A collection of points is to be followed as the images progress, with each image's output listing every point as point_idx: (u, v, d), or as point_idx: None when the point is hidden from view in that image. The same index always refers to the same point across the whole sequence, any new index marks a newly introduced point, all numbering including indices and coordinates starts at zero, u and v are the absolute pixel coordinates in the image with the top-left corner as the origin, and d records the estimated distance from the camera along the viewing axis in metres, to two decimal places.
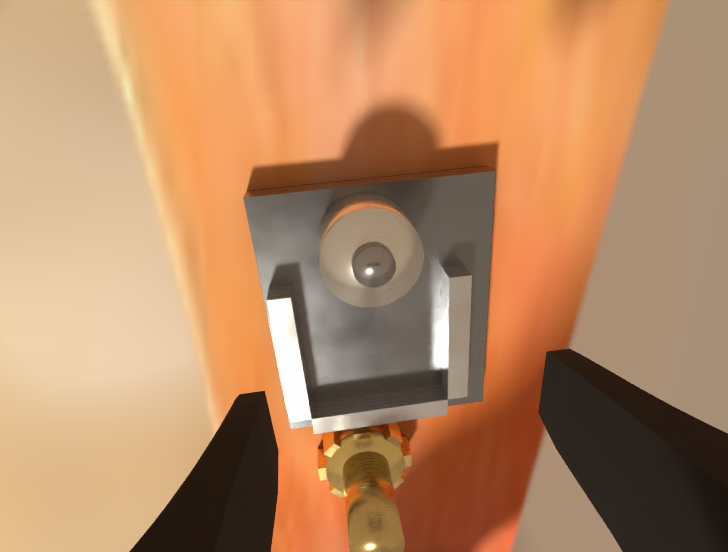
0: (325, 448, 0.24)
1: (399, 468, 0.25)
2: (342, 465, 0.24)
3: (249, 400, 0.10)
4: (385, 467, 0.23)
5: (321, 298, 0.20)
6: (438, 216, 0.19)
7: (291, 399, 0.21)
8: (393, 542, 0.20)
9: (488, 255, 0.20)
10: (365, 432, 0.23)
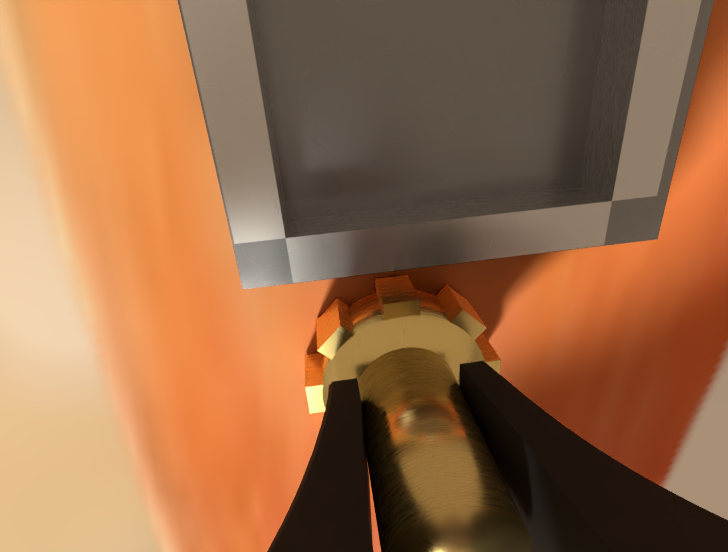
0: (320, 340, 0.11)
1: None
2: None
3: (345, 386, 0.10)
4: (452, 377, 0.11)
5: None
6: None
7: (231, 171, 0.08)
8: (501, 543, 0.08)
9: None
10: (408, 301, 0.11)
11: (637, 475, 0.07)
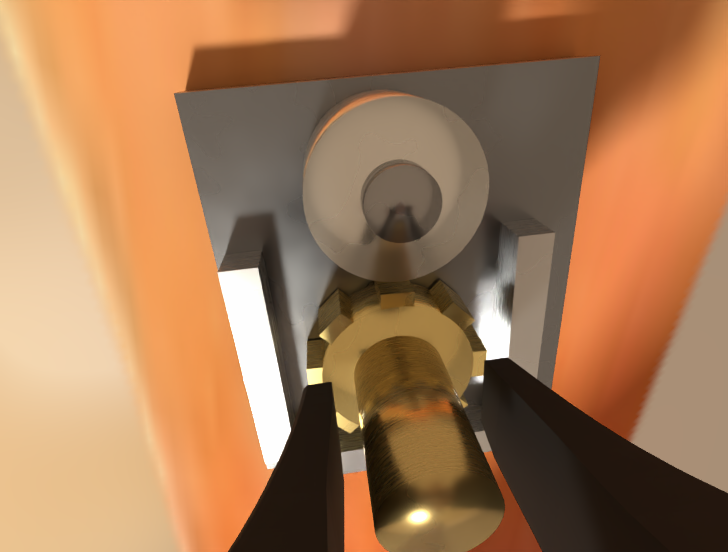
0: (322, 326, 0.12)
1: (461, 378, 0.13)
2: (353, 363, 0.12)
3: (319, 390, 0.10)
4: (441, 363, 0.12)
5: (310, 272, 0.13)
6: (501, 136, 0.11)
7: (264, 430, 0.13)
8: (478, 506, 0.09)
9: (574, 204, 0.13)
10: (404, 293, 0.12)
11: (675, 469, 0.07)
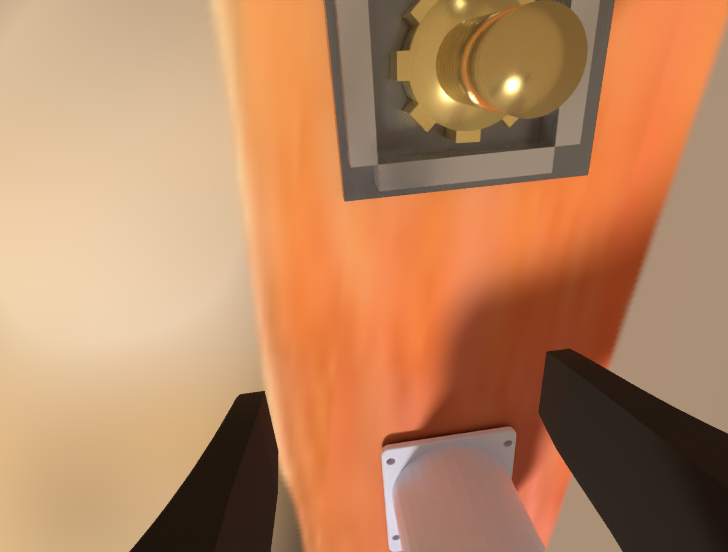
0: (412, 9, 0.14)
1: None
2: (436, 47, 0.14)
3: (250, 399, 0.10)
4: None
5: None
6: None
7: (354, 127, 0.15)
8: (567, 49, 0.11)
9: None
10: None
11: None
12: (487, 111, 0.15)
